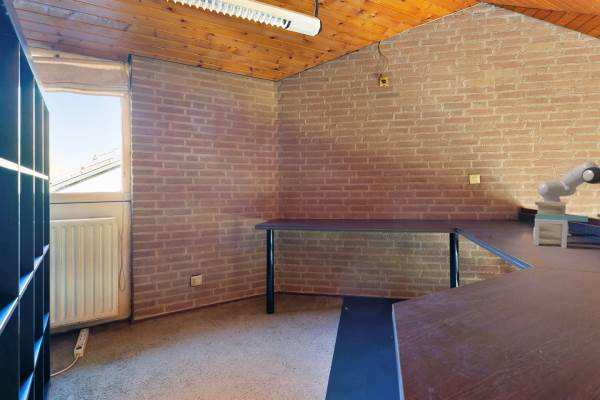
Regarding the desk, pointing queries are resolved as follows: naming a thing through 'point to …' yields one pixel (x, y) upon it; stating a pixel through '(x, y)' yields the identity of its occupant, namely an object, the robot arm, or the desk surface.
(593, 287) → the desk surface
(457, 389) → the desk surface
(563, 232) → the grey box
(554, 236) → the birch shelf
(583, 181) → the robot arm
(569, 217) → the teal rectangular bar
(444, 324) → the desk surface
